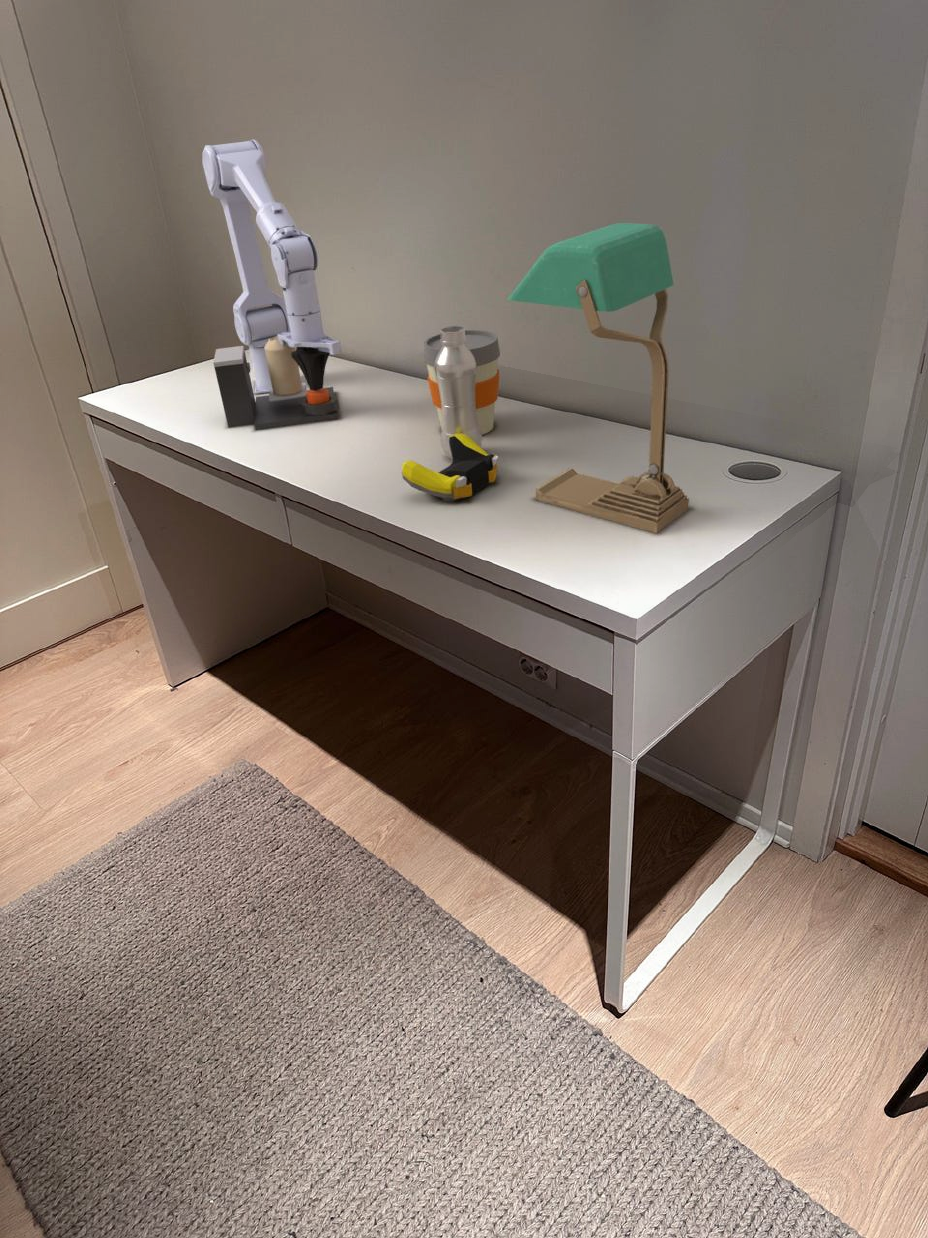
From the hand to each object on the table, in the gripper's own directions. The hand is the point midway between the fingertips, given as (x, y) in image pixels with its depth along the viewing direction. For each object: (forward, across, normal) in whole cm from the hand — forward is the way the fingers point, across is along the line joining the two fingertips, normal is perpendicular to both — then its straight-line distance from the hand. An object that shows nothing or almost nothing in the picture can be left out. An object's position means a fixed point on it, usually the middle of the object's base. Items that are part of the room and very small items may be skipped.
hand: (316, 388), depth 159 cm
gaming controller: (+5, +42, -11) cm, 44 cm away
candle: (+2, -8, 0) cm, 9 cm away
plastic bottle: (+5, +36, -2) cm, 36 cm away
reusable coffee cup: (+5, +28, +8) cm, 30 cm away
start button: (+2, 0, 0) cm, 2 cm away
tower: (+5, -10, -4) cm, 12 cm away
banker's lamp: (+5, +64, -5) cm, 65 cm away
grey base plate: (+5, -6, 0) cm, 8 cm away
